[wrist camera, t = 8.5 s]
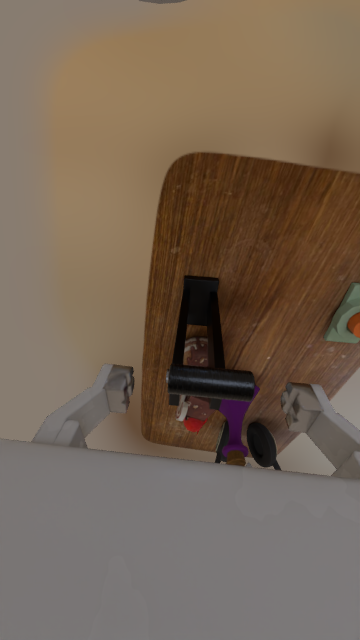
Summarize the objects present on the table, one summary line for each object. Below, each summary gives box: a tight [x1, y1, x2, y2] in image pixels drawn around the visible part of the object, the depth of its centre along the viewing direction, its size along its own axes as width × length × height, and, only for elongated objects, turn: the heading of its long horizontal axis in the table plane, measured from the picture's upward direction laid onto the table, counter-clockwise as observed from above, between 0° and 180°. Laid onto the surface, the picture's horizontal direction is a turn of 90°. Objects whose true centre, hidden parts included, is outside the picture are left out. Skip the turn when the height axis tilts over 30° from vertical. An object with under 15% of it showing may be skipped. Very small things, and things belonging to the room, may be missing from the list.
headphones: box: [215, 421, 281, 470], centre depth 45 cm, size 9×15×20 cm, turn 85°
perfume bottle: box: [219, 385, 260, 467], centre depth 39 cm, size 8×8×18 cm
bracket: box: [166, 276, 225, 410], centre depth 29 cm, size 8×6×18 cm
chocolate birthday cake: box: [176, 337, 215, 434], centre depth 35 cm, size 9×8×15 cm
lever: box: [168, 364, 255, 402], centre depth 17 cm, size 14×4×2 cm
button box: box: [324, 283, 360, 343], centre depth 34 cm, size 10×6×2 cm, turn 177°
